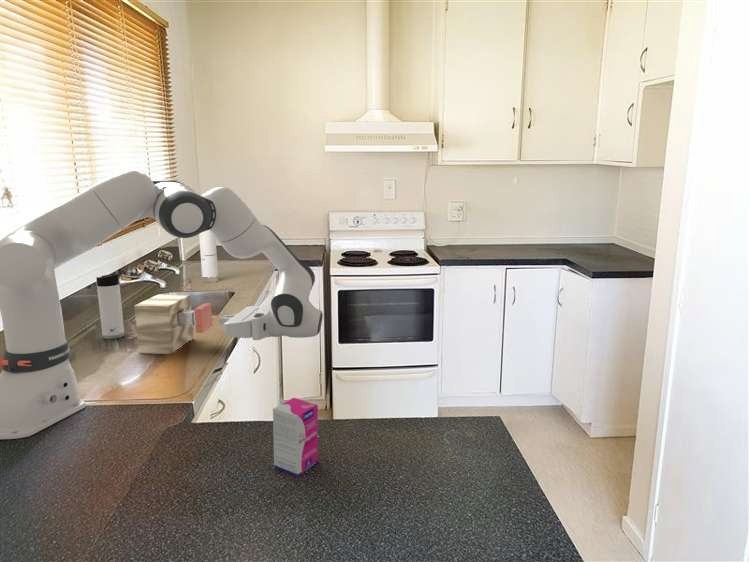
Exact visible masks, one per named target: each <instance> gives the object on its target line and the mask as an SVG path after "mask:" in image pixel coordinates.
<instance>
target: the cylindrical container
mask: <svg viewBox="0 0 749 562" xmlns="http://www.w3.org/2000/svg"><path fill="white" fill-rule="evenodd" d="M198 235H199V236H198V237H199V252H200V253H199V255H200V266H201V267H200V268H201V278H202V277H208V278H209V277H216V276H218V277H219V271H218V270H219V269H218V267H219V266H218V255H217V239H216V238H215V236H214V235H213V234H212V233H211V231H210V230H207V231H204V232H202V233H200V234H198Z"/></svg>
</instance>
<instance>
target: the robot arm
mask: <svg viewBox="0 0 749 562" xmlns="http://www.w3.org/2000/svg"><path fill="white" fill-rule="evenodd" d="M146 218H153V219H155V222H156V223H158V224H159V226H160V227H161V228H162V229H164V231H165V232H167V233H168V234H170V235H171V236H174V237H175V238H180V239H188V238H193V237H196V236H198V235H199V234H200V233H202V232H204V231H207V230H210V231H211V233H212V234H213V235H214V236H215V238H216V241H217V242H218V243H219V245H220V246H221V247H222V248H223V249H224V250H225V251H226V252H227V253H228V254H229V255H230V256H232V257H234V258H236V259H249V258H253V257H255V256H258V255H260V254H261V253H262V254H263V255H264V256H265V257H266V258H267V260H269V261H270V262H271V263H272V264H273V265H274V267H276V268H277V271H278V279H277V282H276V287H275V288H274V291H273V293H272V296H271V299H270V305H260V306H259V305H249V306H246V307H245V308H242V310H241V311H240V312H238V313H234V314H229V315H228V314H227V315H226V314H224V315H222V316H220V317H219V318H218V323H219V324H220V325H223V333H224V335H225V336H227V337H230V338H238V339H239V338H240V339H250V338H252V341H260V340H263V339H265V338H271V337H274V338H280V337H288V338H296V339H300V338H302V339H303V338H313V337H317V336H318V335H319V334H320V331H321V328H322V326H323V325H322V323H323V316H324V315H323V311H322V310H321V309H318V308H317V307H316V306H314V304H312V302H311V301H310V299H309V298H310V295H311V292H312V288H313V286H314V285H315V282H316V275H315V272H314V271H313V269H312V268H311V267H310V266H309V265H307V264H306V263H305V262H303V261H302V260H300V259H299V258H298V257H297V256H296V255H295V254H294V253H293V251H291V249H290V248H289V246H288V245H286V244H285V242H284V241H282V239H281V238H280V237H279V236H278V234H276V233H275V232H274V230H272V229H271V228H270V227H269V226H267V225H265V224H262V223H261V222H260V221H259V220H258V219H257V217H256V215H255V214H254V213H253V212H252V210H251V209H250V207H249V206H248V205H247V204H246V203H245V202H244V200H242V199H241V197H239V195H238V194H236V193H235V192H234V190H232V189H231V188H228V187H225V186H217V187H213V188H212V189H210V190H207V191H206V192H205V193H202V194H199V193H198V192H196V191H195V190H194V189H192V188H191V187H189V186H187V185H185V184H184V183H183V182H181V181H178V180H169V179H168V180H154V181H153V180H152V179H151V178H150V177H149V176H148V175H147V174H146V173H144V172H143V171H140V170H138V169H133V168H131V169H126V170H124V171H121V172H118V173H116V174H114V175H111V176H109V177H106V178H104V179H103V180H100V181H98V182H97V183H94V184H93V185H91V186H90V187H88V188H86V189H85V190H82V191H81V192H80V193H77V194H76V195H74V196H73V197H70V198H69V199H68V200H66V201H64V202H62V203H61V204H59V205H57V206H56V207H53V208H52V209H50V210H48V211H47V212H45V213H43V214H42V215H40V216H37V217H36V218H34V219H33V220H31V221H28V222H27V223H25V224H24V225H22V226H21V227H19V228H17V229H15V230H14V231H12V232H10V233H8V234H7V235H6V236H5V237H3V238H2V239H1V240H0V316H1V320H2V321H1V322H2V328H3V334H4V340H5V341H4V342H5V348H6V349H5V350H4V352H3V353H4V354H3V357H1V358H0V369H1V370H2V371H1V372H0V440H13V439H14V440H15V439H22V438H28V437H30V436H32V435H35V434H36V433H39V432H40V431H42V430H44V429H46V428H48V427H50V426H53V425H54V424H56V423H58V422H59V421H61V420H64V419H65V418H67V417H69V416H71V415H73V414H75V413H78V412H79V411H81V410H83V409H85V408H86V406H87V405H86V402H85V400H84V399H82V397H81V393H80V388H79V385H78V381H77V380H78V379H77V377H76V372H75V370H74V369H73V367H72V365H71V363H70V361H69V358H70V346H69V341H68V340H67V339H66V335H65V333H66V332H65V327H64V318H63V317H64V316H63V310H62V305H61V301H60V296H59V291H58V290H59V289H58V285H57V284H58V283H57V279H56V272H55V270H56V269H57V268H58V267H60V266H62V265H64V264H65V263H67V262H69V261H71V260H73V259H75V258H77V257H78V256H80V255H82V254H84V253H86V252H88V251H90V250H93V249H94V248H96V247H97V246H99V245H101V244H102V243H104V242H105V241H107V240H108V239H110V238H112V237H113V236H115V235H116V234H118V233H120V232H121V231H123V230H124V229H126V228H128V227H129V226H131V225H132V224H134V223H135V222H136V221H139V220H142V219H146Z"/></svg>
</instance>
